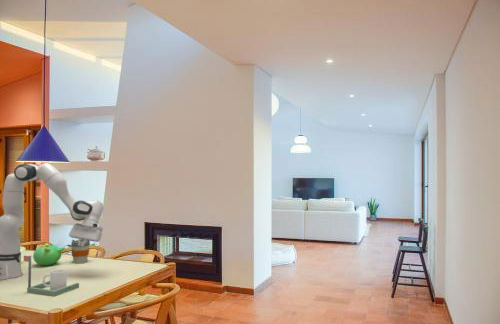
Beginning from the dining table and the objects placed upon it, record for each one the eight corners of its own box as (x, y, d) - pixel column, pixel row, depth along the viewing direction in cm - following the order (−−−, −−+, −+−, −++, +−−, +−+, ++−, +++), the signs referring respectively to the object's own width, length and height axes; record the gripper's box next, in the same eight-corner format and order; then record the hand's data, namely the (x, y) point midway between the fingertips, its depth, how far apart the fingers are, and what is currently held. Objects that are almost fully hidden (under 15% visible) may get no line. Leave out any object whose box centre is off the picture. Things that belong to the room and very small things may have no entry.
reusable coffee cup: (66, 262, 288) (67, 241, 289) (82, 259, 299) (82, 239, 299) (77, 265, 282) (78, 243, 282) (93, 261, 292) (93, 241, 293)
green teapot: (52, 261, 293) (52, 240, 293) (67, 264, 284) (67, 243, 285) (28, 266, 277) (28, 244, 278) (42, 269, 269) (43, 247, 269)
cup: (65, 290, 221) (65, 272, 221) (41, 292, 217) (41, 273, 218) (67, 286, 229) (67, 268, 229) (43, 288, 225) (44, 270, 225)
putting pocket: (47, 283, 235) (48, 249, 236) (78, 287, 228) (79, 252, 228) (21, 291, 219) (22, 255, 219) (54, 296, 211) (55, 258, 212)
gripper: (72, 221, 254) (63, 241, 247) (101, 225, 249) (92, 247, 243) (77, 224, 259) (68, 245, 252) (105, 229, 255) (97, 250, 248)
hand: (80, 246), depth 248 cm, fingers closed
